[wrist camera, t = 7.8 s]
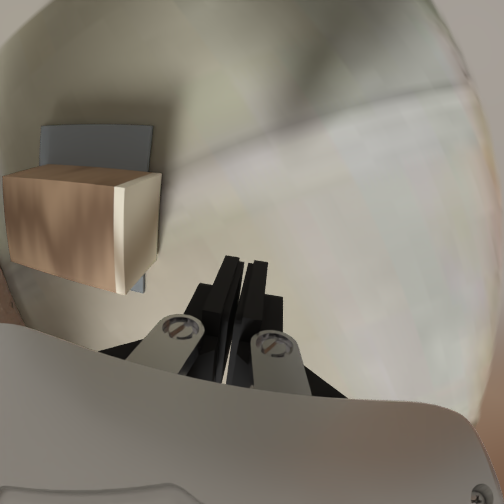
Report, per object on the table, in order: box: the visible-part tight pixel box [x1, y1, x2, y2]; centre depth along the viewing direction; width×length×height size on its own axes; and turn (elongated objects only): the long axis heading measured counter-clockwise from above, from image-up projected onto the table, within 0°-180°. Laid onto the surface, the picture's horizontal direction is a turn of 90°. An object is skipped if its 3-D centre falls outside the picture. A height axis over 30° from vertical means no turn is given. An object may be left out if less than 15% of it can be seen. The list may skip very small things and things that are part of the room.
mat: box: [39, 124, 153, 293], centre depth 19 cm, size 12×10×1 cm
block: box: [3, 164, 162, 295], centre depth 17 cm, size 6×5×10 cm
